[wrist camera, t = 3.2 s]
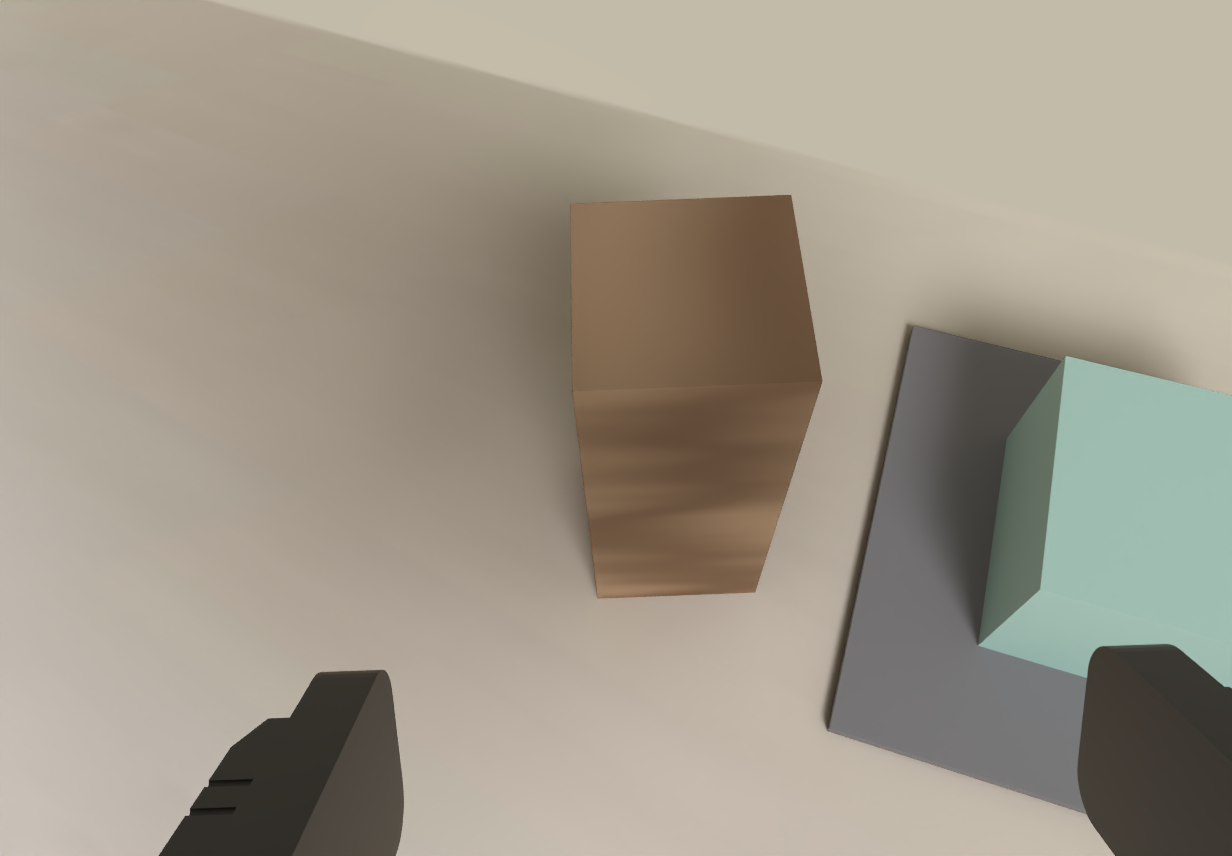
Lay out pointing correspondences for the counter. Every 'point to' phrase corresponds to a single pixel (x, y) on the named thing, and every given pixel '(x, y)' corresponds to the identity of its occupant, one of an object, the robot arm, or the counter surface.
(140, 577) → the counter surface
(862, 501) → the counter surface
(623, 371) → the pillar
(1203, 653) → the plinth
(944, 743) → the mat
